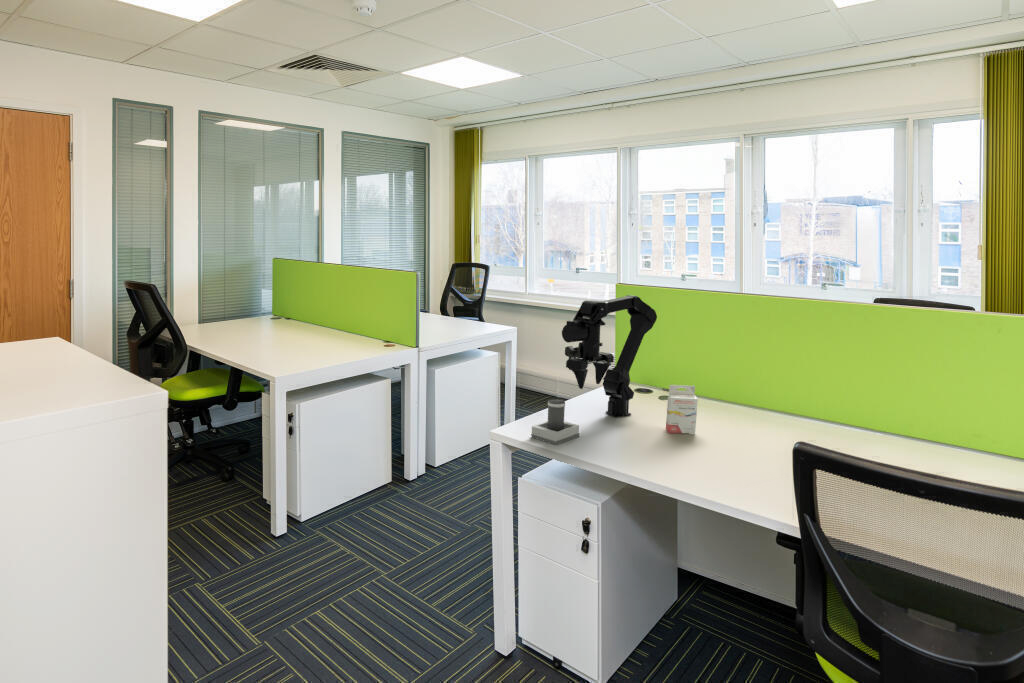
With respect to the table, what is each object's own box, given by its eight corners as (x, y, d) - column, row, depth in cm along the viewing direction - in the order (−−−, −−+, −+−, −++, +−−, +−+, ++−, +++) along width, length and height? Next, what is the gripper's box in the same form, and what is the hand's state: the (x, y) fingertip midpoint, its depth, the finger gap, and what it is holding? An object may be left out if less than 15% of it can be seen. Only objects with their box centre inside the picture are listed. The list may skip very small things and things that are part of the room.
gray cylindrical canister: (562, 430, 192) (563, 399, 190) (565, 436, 187) (566, 404, 185) (545, 430, 191) (546, 399, 189) (548, 436, 186) (549, 404, 184)
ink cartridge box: (667, 433, 193) (670, 388, 191) (665, 428, 198) (668, 384, 195) (695, 434, 192) (698, 389, 190) (692, 429, 197) (695, 385, 195)
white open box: (554, 429, 196) (554, 418, 196) (579, 436, 190) (579, 425, 189) (531, 437, 189) (531, 426, 188) (556, 444, 182) (556, 433, 181)
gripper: (588, 333, 212) (586, 377, 215) (553, 339, 199) (552, 386, 202) (615, 337, 205) (613, 383, 207) (580, 344, 191) (579, 393, 194)
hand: (589, 386), depth 203 cm, fingers open, 9 cm apart
